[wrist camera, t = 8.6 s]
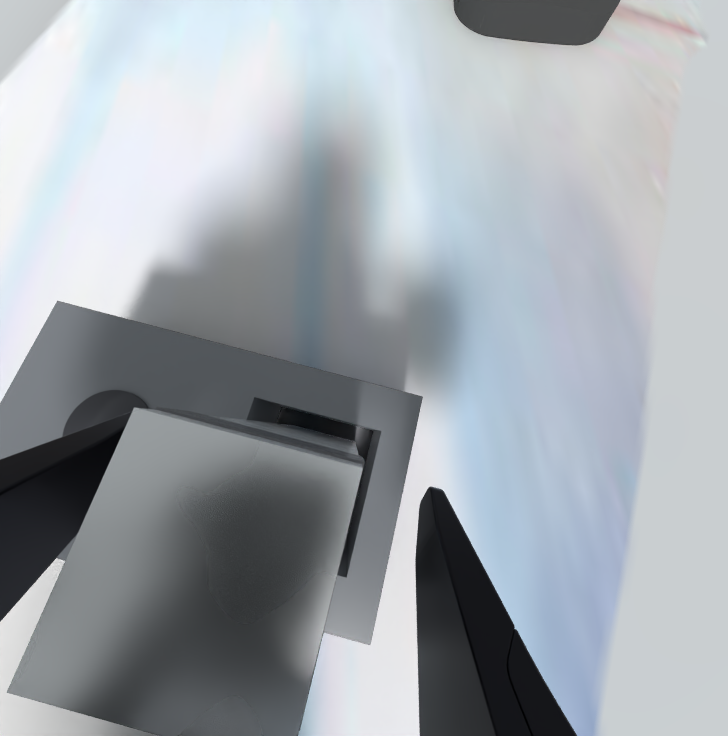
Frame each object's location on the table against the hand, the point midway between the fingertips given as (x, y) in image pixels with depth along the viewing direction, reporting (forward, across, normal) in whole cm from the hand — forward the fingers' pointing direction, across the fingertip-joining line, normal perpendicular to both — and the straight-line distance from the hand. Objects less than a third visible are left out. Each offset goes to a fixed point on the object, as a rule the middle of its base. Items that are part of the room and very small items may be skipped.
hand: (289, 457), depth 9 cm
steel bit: (+5, 0, +7) cm, 9 cm away
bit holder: (+5, +4, +7) cm, 10 cm away
